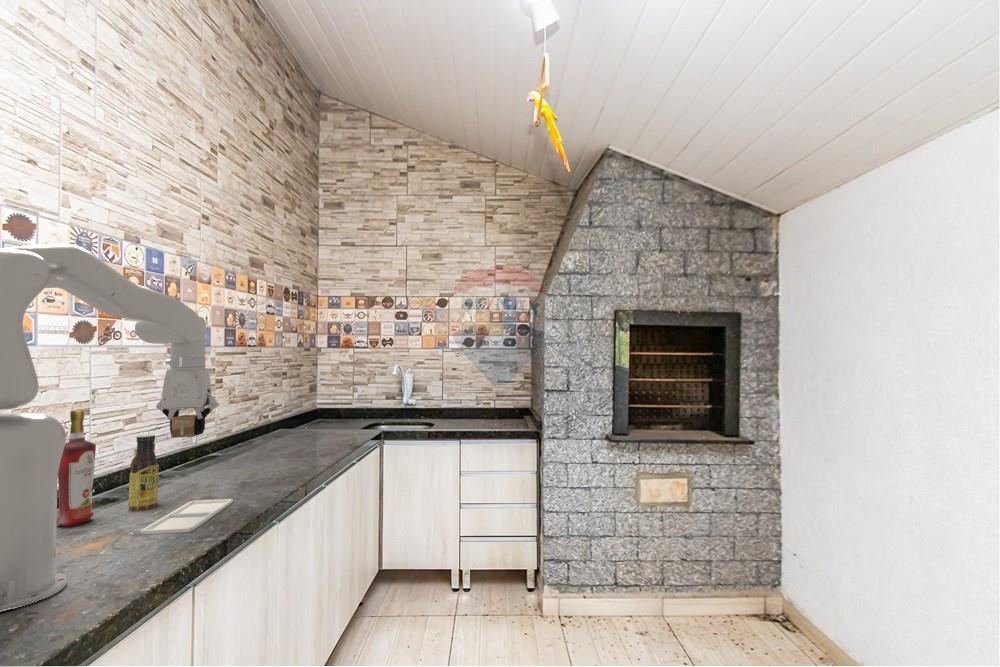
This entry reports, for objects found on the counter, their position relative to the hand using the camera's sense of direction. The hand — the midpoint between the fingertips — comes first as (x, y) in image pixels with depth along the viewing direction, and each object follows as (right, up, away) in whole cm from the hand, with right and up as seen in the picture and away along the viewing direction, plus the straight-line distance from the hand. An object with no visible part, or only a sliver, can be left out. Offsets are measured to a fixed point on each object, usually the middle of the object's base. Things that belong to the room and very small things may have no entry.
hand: (187, 433), depth 121 cm
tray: (+3, -21, -2) cm, 21 cm away
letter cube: (0, -1, 0) cm, 1 cm away
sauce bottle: (-16, -22, +6) cm, 28 cm away
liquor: (-26, -22, -4) cm, 34 cm away
